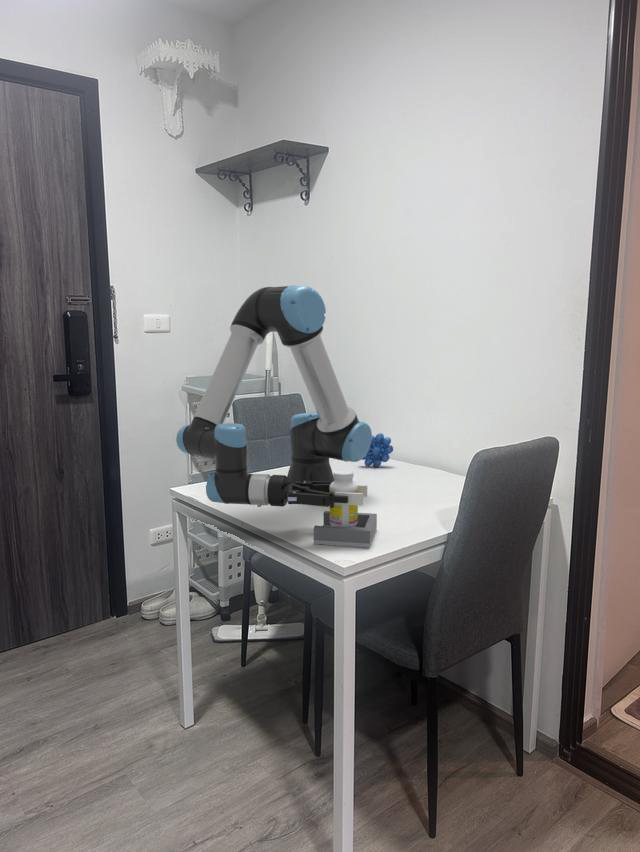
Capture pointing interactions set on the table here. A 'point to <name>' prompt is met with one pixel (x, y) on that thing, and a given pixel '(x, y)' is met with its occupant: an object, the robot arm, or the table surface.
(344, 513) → the supplement bottle
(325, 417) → the robot arm
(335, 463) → the table surface
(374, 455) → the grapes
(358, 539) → the gray open-sided tray
